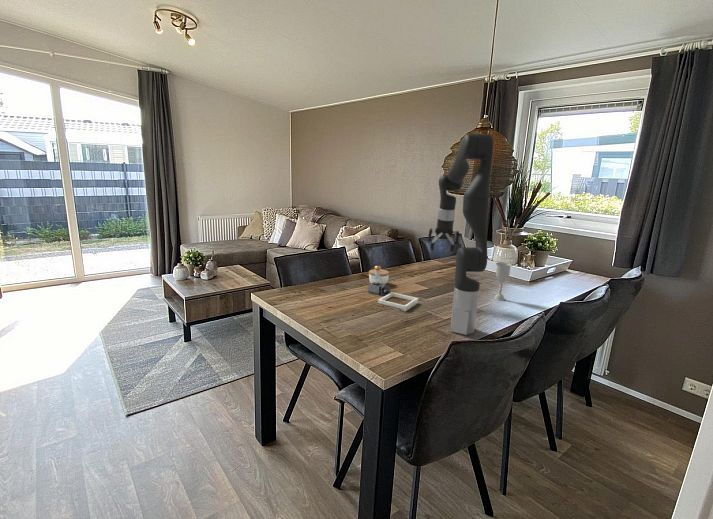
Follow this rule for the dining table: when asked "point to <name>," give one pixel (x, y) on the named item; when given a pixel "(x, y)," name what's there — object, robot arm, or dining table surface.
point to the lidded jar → (383, 276)
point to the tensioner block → (379, 289)
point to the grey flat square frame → (402, 307)
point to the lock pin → (377, 274)
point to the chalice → (502, 277)
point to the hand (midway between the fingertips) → (441, 250)
